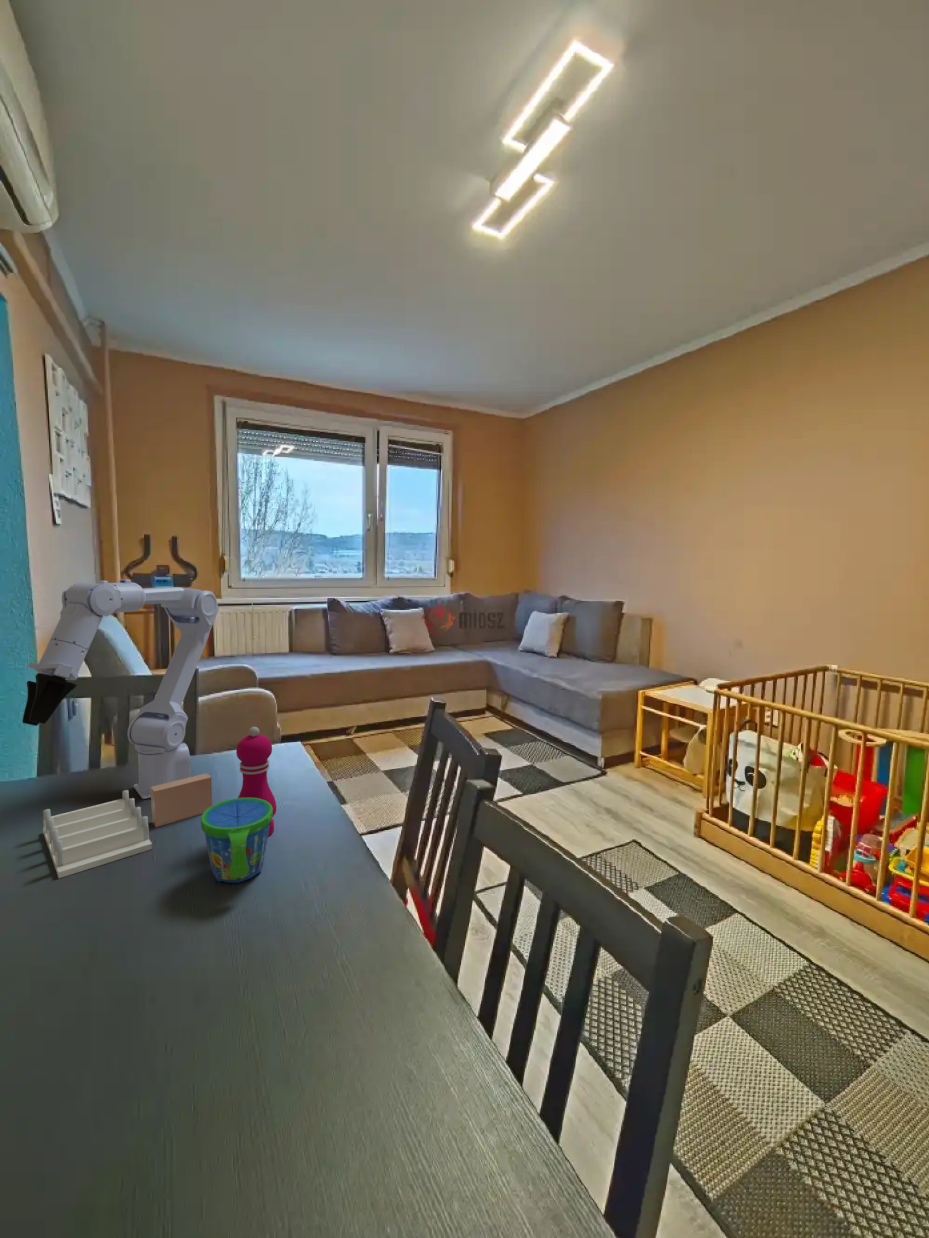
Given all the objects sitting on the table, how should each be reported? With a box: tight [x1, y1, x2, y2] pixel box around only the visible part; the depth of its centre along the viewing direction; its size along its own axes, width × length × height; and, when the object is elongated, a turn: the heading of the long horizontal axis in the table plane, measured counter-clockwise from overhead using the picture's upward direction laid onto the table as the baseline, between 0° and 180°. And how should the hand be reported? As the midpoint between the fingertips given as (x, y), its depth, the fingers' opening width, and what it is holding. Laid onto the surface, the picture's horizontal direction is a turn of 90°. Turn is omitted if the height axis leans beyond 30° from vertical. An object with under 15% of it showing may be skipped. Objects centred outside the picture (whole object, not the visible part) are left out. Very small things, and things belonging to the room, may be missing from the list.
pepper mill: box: [235, 726, 277, 838], centre depth 99 cm, size 7×7×20 cm
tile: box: [150, 772, 213, 828], centre depth 105 cm, size 10×2×7 cm, turn 133°
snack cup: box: [200, 797, 274, 884], centre depth 87 cm, size 16×10×10 cm
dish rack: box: [42, 789, 153, 879], centre depth 95 cm, size 13×18×5 cm
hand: (33, 723), depth 89 cm, fingers open, 7 cm apart
